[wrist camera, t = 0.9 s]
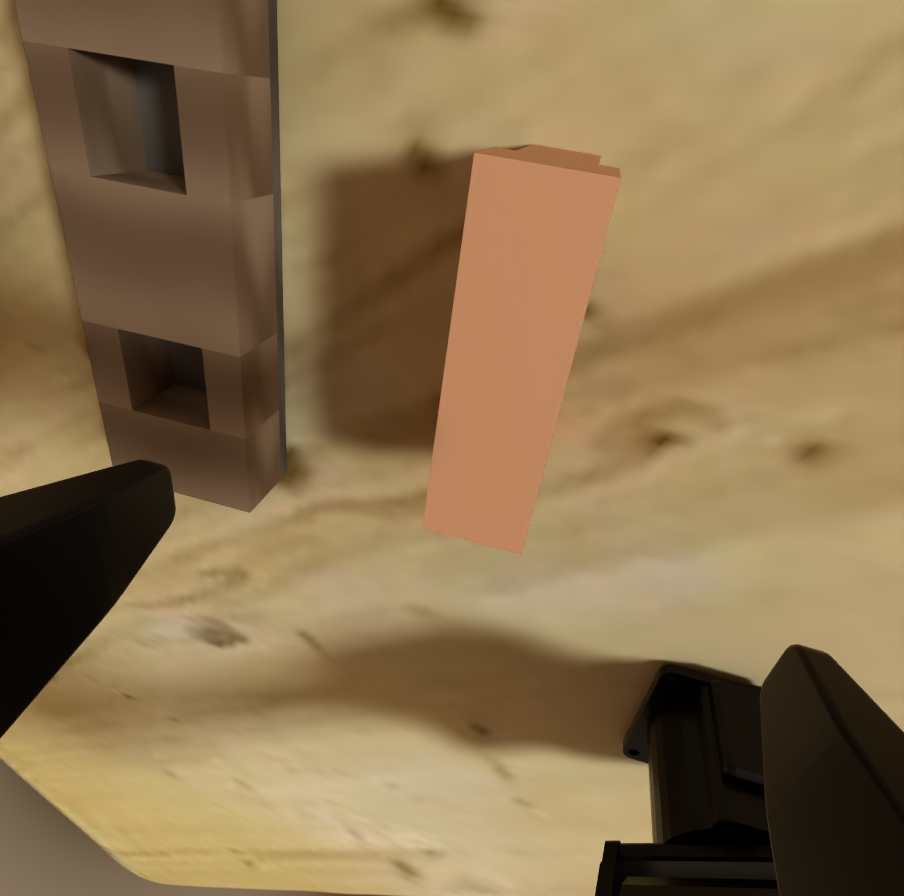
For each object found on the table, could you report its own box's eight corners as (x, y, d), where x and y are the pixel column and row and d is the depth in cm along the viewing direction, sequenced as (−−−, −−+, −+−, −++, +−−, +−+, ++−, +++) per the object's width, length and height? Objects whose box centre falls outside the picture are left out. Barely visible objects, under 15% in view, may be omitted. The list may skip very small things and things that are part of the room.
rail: (286, 472, 25) (249, 512, 23) (162, 440, 26) (114, 475, 23) (274, -68, 16) (211, -102, 13) (82, -92, 17) (-13, -129, 14)
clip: (542, 452, 22) (522, 554, 17) (466, 433, 22) (422, 528, 17) (618, 158, 16) (620, 178, 11) (515, 141, 17) (473, 152, 12)
